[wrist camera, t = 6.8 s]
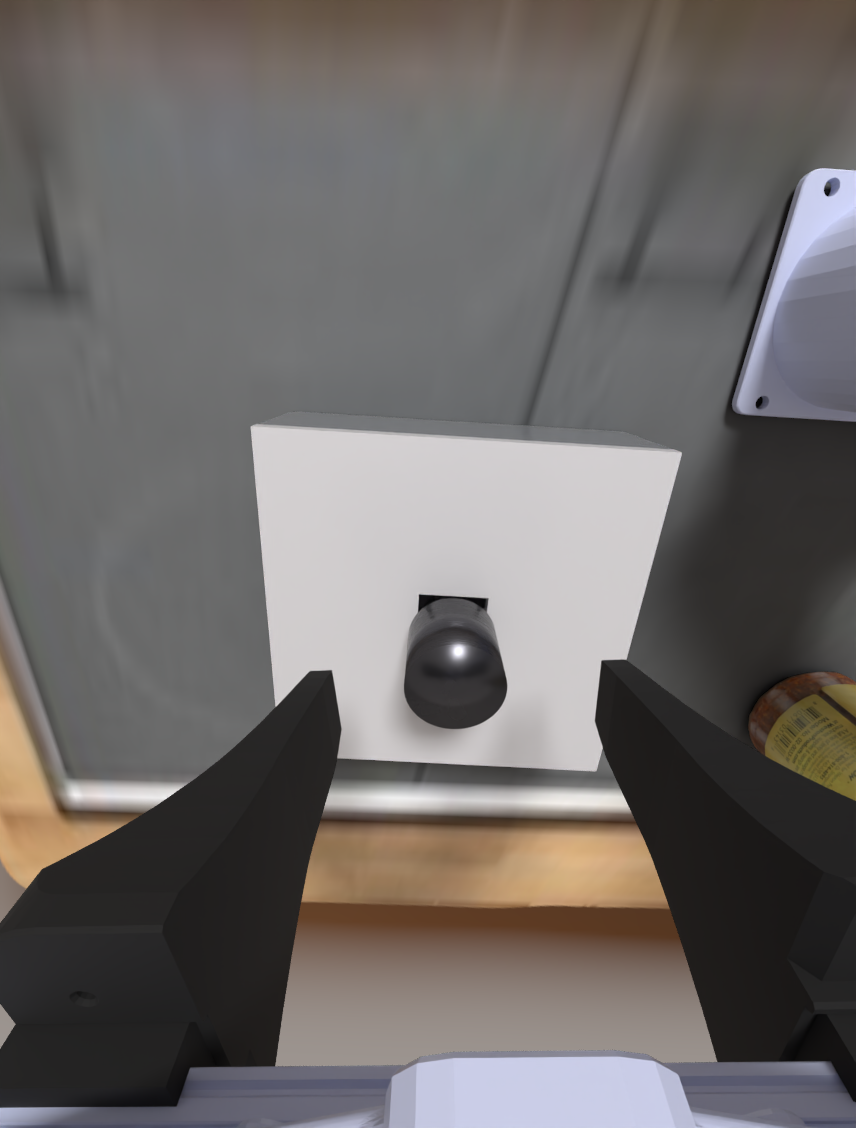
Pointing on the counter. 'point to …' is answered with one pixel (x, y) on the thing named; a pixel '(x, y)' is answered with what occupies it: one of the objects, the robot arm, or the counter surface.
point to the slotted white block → (457, 569)
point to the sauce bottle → (810, 728)
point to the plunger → (453, 663)
